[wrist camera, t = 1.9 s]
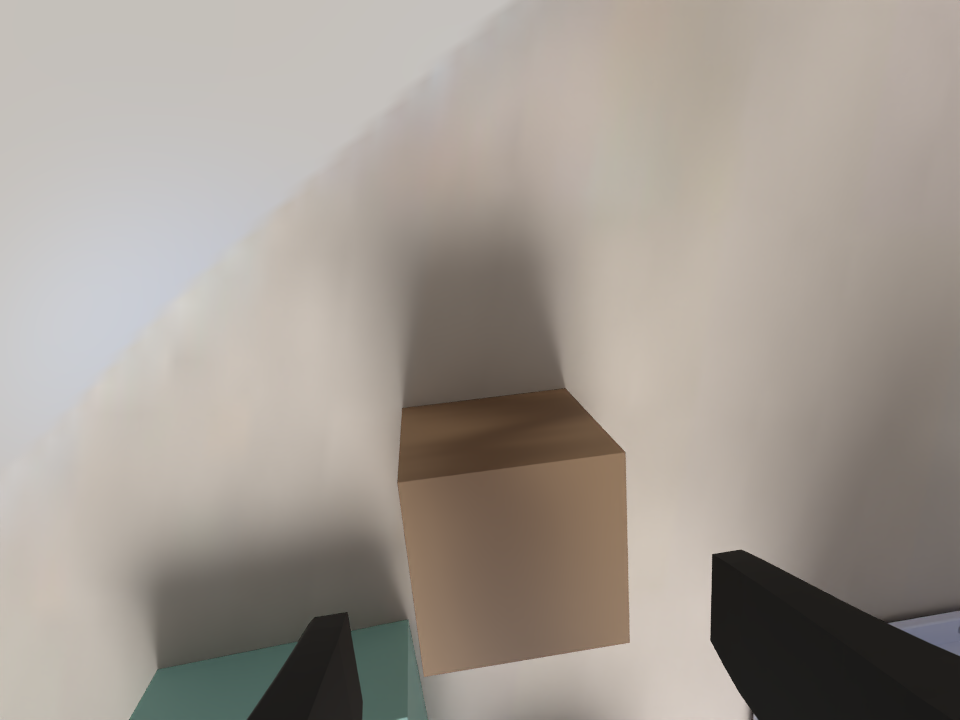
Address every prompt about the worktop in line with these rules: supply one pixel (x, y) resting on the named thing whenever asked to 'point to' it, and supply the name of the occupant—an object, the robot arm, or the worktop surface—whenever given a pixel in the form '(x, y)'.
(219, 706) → the teal base block
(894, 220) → the worktop surface
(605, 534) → the walnut cube
